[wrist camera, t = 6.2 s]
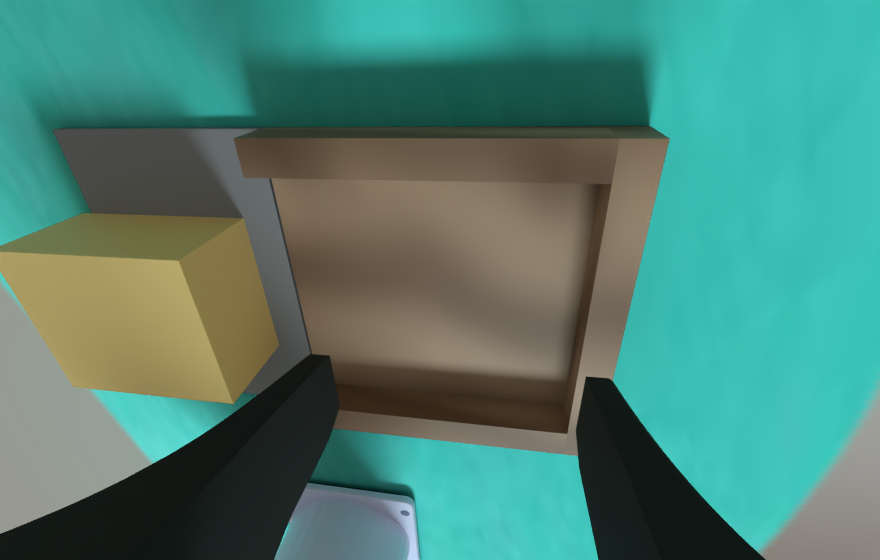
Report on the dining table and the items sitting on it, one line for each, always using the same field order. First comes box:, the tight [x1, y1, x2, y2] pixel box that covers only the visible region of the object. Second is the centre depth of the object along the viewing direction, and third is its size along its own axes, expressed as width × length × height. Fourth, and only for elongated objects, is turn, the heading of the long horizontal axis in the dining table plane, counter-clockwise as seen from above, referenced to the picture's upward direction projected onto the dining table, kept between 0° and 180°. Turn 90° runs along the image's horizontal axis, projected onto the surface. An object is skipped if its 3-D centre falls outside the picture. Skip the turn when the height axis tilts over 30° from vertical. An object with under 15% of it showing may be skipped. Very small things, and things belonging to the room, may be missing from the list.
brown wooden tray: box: [233, 126, 669, 456], centre depth 15 cm, size 12×12×2 cm
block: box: [0, 213, 279, 404], centre depth 16 cm, size 6×7×4 cm
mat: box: [53, 128, 312, 394], centre depth 18 cm, size 12×8×1 cm, turn 2°
